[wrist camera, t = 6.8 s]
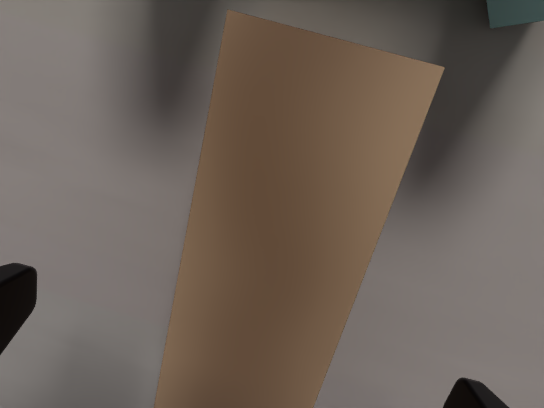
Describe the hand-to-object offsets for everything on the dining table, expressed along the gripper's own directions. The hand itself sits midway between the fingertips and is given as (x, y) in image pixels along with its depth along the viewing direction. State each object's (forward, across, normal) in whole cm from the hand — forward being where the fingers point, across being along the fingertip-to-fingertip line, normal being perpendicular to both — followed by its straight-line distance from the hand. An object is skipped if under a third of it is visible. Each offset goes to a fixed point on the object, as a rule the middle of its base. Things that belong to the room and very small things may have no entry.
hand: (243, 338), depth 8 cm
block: (+5, 0, 0) cm, 5 cm away
